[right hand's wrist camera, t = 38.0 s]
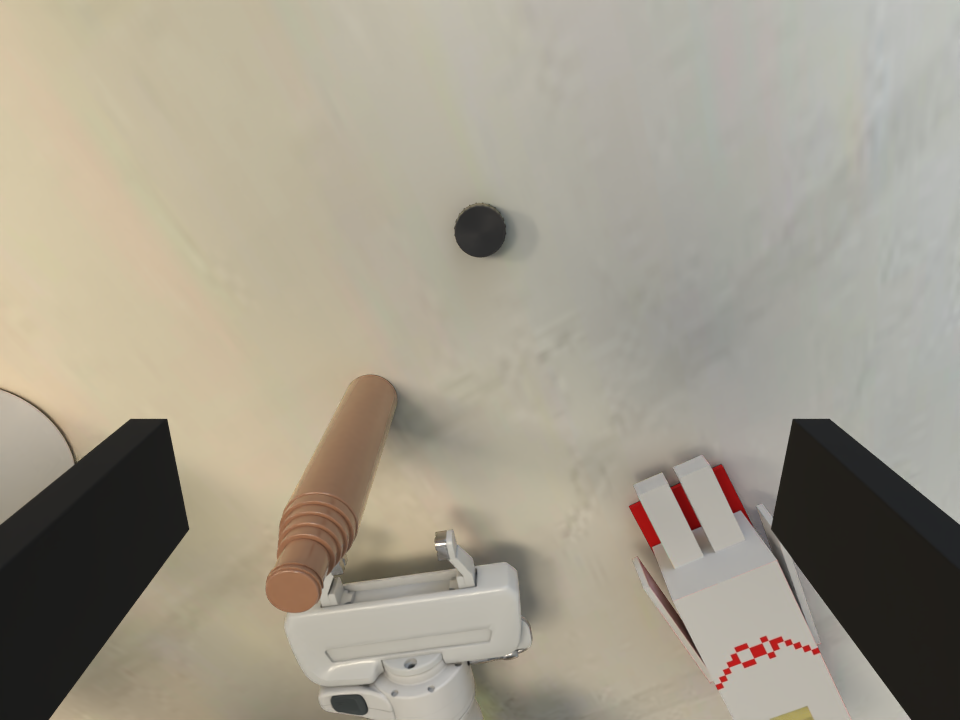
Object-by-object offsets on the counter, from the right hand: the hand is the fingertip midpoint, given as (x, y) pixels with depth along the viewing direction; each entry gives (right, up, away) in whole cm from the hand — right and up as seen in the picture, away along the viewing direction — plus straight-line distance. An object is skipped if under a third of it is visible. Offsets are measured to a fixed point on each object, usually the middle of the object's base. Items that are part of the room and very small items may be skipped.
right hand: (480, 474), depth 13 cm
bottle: (-9, -1, +40) cm, 41 cm away
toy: (+23, -18, +46) cm, 55 cm away
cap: (0, +12, +33) cm, 35 cm away
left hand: (-8, -13, +37) cm, 40 cm away
